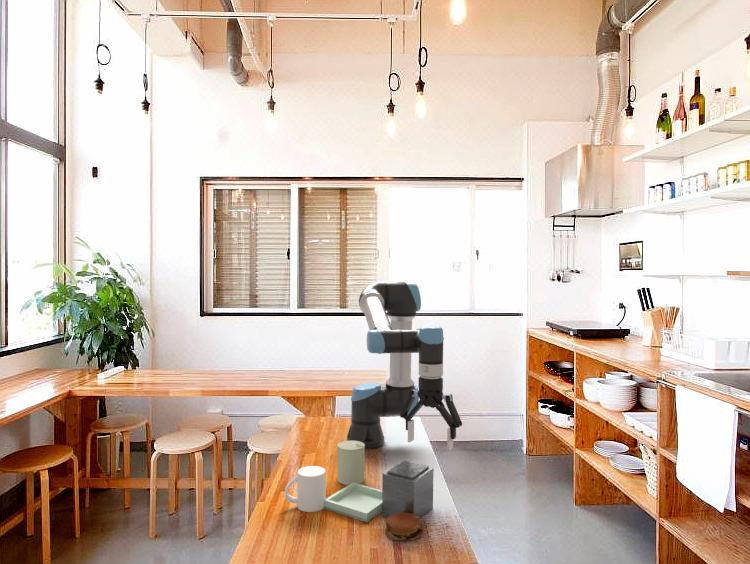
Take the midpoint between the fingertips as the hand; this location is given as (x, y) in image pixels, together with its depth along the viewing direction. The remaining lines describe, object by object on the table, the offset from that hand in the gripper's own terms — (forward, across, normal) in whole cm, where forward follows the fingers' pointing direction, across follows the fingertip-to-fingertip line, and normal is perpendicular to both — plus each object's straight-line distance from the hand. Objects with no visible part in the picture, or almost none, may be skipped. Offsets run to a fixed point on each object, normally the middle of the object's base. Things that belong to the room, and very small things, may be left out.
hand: (430, 445), depth 160 cm
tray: (+15, -14, -19) cm, 28 cm away
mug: (+16, -26, -28) cm, 41 cm away
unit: (+15, 0, -14) cm, 21 cm away
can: (+15, -27, -5) cm, 31 cm away
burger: (+16, +5, -25) cm, 30 cm away
